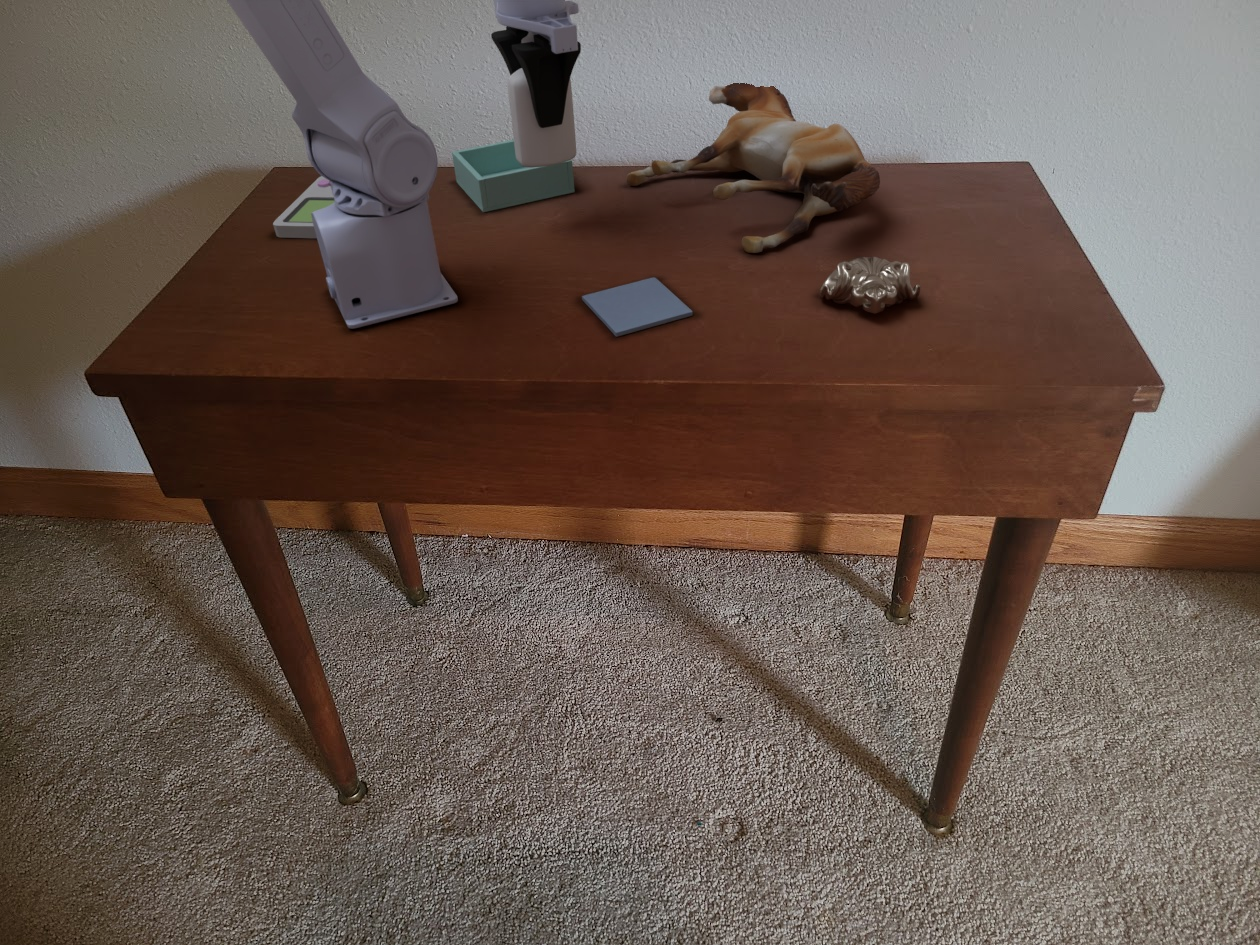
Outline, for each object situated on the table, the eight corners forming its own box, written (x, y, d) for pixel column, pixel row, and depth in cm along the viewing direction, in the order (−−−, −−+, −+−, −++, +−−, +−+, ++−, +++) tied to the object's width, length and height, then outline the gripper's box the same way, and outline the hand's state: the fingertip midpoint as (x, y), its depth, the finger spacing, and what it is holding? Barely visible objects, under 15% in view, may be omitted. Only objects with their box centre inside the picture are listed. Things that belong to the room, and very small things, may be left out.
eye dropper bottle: (521, 151, 87) (506, 15, 80) (579, 151, 87) (569, 14, 79) (513, 168, 84) (496, 28, 76) (573, 168, 83) (562, 27, 76)
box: (483, 212, 92) (478, 180, 90) (456, 182, 99) (451, 151, 97) (574, 192, 96) (572, 160, 93) (543, 164, 102) (540, 134, 100)
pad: (616, 337, 73) (616, 332, 72) (581, 299, 78) (581, 295, 77) (692, 315, 75) (692, 311, 74) (654, 280, 80) (654, 276, 79)
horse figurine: (598, 120, 95) (752, 63, 102) (609, 190, 100) (755, 131, 107) (793, 205, 74) (971, 125, 81) (795, 288, 79) (962, 207, 86)
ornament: (822, 325, 73) (827, 284, 70) (815, 284, 78) (819, 245, 76) (924, 325, 72) (932, 284, 70) (910, 284, 77) (917, 244, 75)
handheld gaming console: (414, 165, 99) (366, 224, 87) (417, 180, 100) (369, 239, 88) (327, 164, 100) (269, 222, 89) (331, 178, 101) (273, 237, 90)
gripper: (607, -43, 70) (616, 134, 79) (539, -68, 81) (553, 91, 89) (523, -31, 68) (540, 149, 77) (463, -59, 78) (485, 103, 87)
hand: (542, 119), depth 83 cm, fingers closed on eye dropper bottle, 3 cm apart
